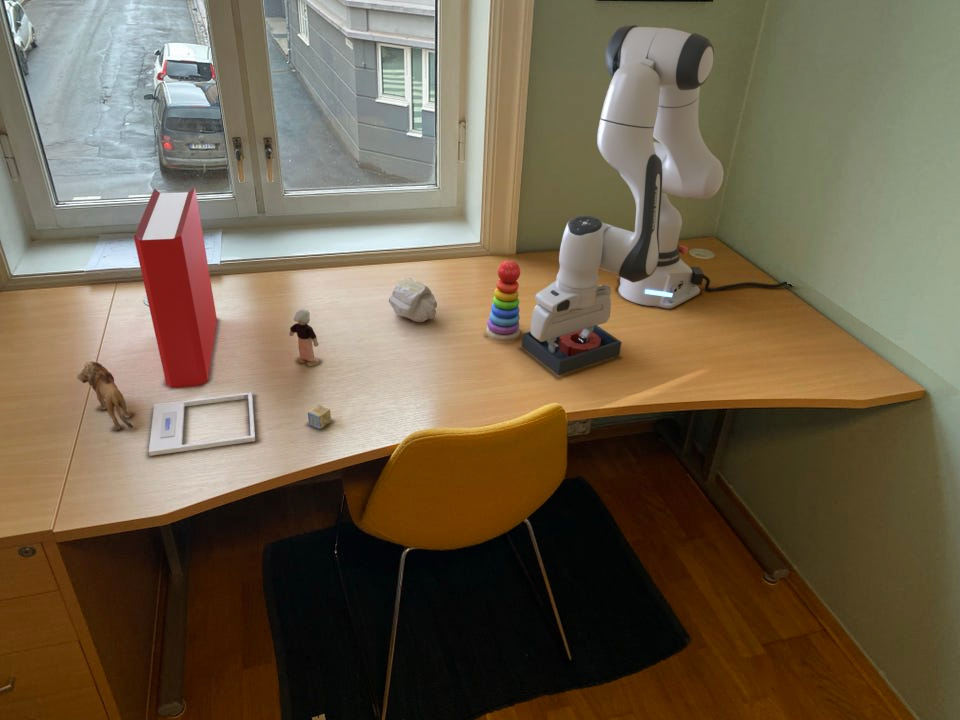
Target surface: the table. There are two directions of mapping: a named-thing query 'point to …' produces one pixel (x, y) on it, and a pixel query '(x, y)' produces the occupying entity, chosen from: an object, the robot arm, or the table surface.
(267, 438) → the table surface
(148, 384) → the table surface
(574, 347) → the ring
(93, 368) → the lion figurine
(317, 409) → the alphabet block
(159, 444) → the photo frame
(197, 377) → the book
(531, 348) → the tray
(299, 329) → the grandmother figurine
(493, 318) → the stacking toy
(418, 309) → the white rock
